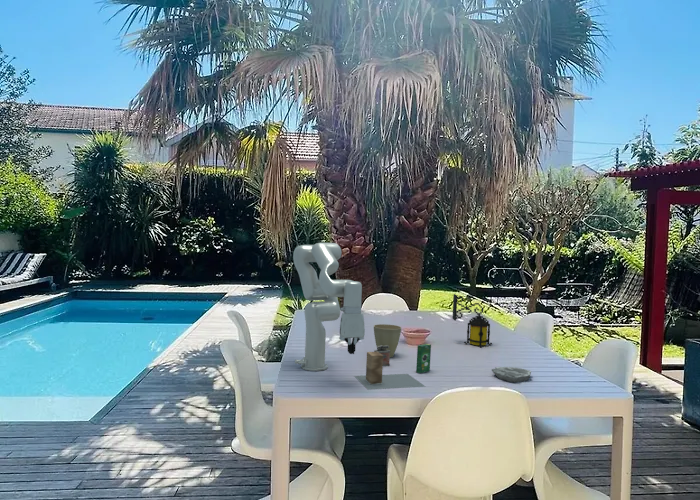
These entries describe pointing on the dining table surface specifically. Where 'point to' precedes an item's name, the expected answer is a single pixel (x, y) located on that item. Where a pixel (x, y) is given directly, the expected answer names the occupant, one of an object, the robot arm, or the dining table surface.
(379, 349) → the lighter
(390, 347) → the plant pot
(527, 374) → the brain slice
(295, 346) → the dining table surface
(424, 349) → the coffee box
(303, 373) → the dining table surface
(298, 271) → the robot arm
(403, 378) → the slate mat
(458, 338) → the dining table surface
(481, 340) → the wall lantern
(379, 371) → the tan rectangular block
